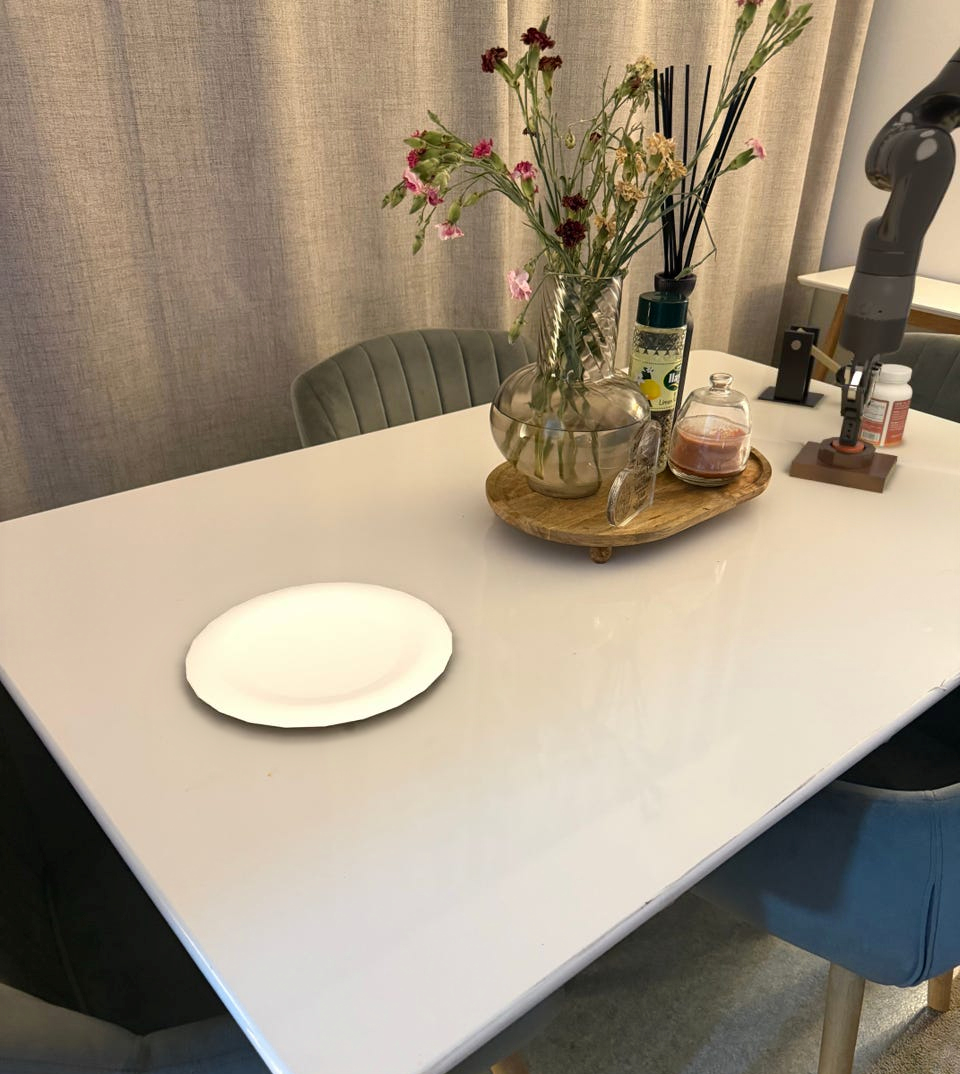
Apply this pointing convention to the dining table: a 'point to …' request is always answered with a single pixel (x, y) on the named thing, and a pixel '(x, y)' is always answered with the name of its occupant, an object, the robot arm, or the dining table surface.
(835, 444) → the button
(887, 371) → the pill bottle
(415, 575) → the dining table surface
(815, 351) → the switch lever
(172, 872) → the dining table surface
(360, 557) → the dining table surface
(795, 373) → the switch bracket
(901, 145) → the robot arm
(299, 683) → the plate
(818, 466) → the switch box
